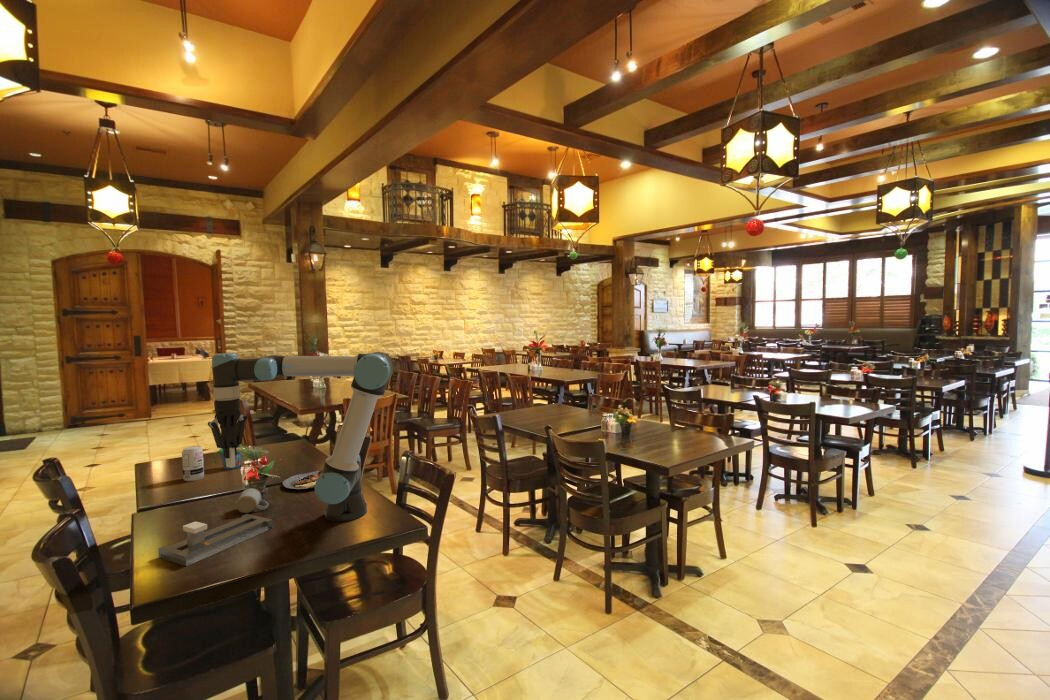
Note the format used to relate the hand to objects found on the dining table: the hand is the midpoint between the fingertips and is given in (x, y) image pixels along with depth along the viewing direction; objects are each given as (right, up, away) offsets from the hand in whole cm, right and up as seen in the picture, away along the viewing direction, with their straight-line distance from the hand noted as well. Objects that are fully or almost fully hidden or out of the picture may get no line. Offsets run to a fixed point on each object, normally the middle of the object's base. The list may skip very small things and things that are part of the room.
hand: (230, 466), depth 170 cm
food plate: (+4, -21, +57) cm, 61 cm away
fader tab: (-5, -23, -10) cm, 26 cm away
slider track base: (-2, -25, -3) cm, 25 cm away
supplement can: (-56, -21, +65) cm, 89 cm away
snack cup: (-48, -20, +82) cm, 97 cm away
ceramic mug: (-6, -23, +25) cm, 35 cm away
